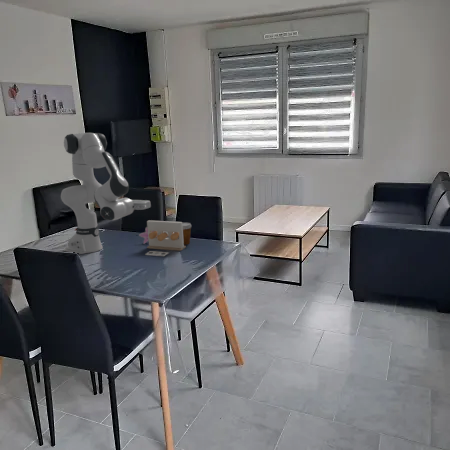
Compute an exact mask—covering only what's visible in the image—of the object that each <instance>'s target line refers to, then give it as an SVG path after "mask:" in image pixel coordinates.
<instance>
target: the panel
mask: <svg viewBox="0 0 450 450" xmlns="http://www.w3.org/2000/svg"><path fill="white" fill-rule="evenodd" d="M182 223H183V222H182V221H170V220H169V221H167V220H165V221H164V220H150V219H149V220H147V221H146V227H147V228H148V239H149V241H148V246H147V247H146V248H147V249H152V250H153V249H155V250H165V251H178V252H179V251H181V252H182V251H183V250H184V249H185V248H187V247H186V245H184V240H183V224H182ZM152 231H157V236H158V235H160V234H162V233H163V232H166V233H167V234H168V237H167V238H165V239H164V240H162V241H159V240H158V239H157V237H155V238H153V239H150V238H149V234H150V233H152ZM175 232H179V238H177V239H176V240H171V238H170V236H171V235H172V234H174V233H175Z"/></svg>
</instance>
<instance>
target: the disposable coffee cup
mask: <svg viewBox="0 0 450 450" xmlns="http://www.w3.org/2000/svg"><path fill="white" fill-rule="evenodd" d="M182 224H183V240H184V246H186V245H189V244H190V243H191V229H192V224H191V222H182Z"/></svg>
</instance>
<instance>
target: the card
mask: <svg viewBox="0 0 450 450" xmlns="http://www.w3.org/2000/svg"><path fill="white" fill-rule="evenodd" d="M169 254H170V252H168V251H157V250H156V251H154V250H149V251H147V252H146V253H145V254H144V255H145V256H154V257H155V256H156V257H165V256H166V255H169Z"/></svg>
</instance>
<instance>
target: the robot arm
mask: <svg viewBox="0 0 450 450" xmlns="http://www.w3.org/2000/svg"><path fill="white" fill-rule="evenodd" d="M107 146H108V142H107V138H106V136H105V135H104V134H103V133H100V132H95V133H94V132H81V133H74V134H73V133H70V134H66V136H64V139H63V147H64V149H65V152H67V153H68V154H69V155H71V163H72V164H71V165H72V175H73V177H74V178H75V179H77V180H80V181H81V182H82V184H79V185H72V186H71V185H70V186H68V187H66V188H63V189H62V190H61V193H60V200H61V202H63V204H64V205H65V206H67V207H69V208H70V209H71V210H72V211H73V212H74V215H75V218H76V224H77V227H76V228H75V229H74V230H73V231H76V232H75V234H74V235H73V236H72V237H70V238H69V239H68V242H67V247H65V248H64V252H67V253H72V252H75V253H74V254H77V253H79V255H84V254H89V253H95V252H100V251H101V250H103V245H102V242H101V239H100V229H99V225H98V219H97V213H96V212H95V211H94V210H92V209H90V208H87V206H86V205H87V204H90V203H91V204H92V203H95V204H96V205H97V207H99V208H100V211H99V212H100V216H101V217H102V218H103V219H104V220H106V221H109V222H110V221H112V222H113V221H117V220H119V219H121V218H124V217H126V216H130V215H131V214H133V213H134V211H135V210H137V211H139V210H140V211H141V210H146V209H149V208H151V207H152V204H151V201H150V200H147V199H145V200H143V199H130V198H128V197H123V196H124V195H126V194H128V192H129V187H130V185H129V182H128V180H127V179H126V178H125V177H124V175H123V173H122V171H121V169H120V167H119V166H118V164H117V162H116V160H115V158H114V156H113V155H112V154H110V152H108V151H106V149H107ZM102 168H106V170H107V172H108V174H109V179H108V180H107V181H106V182H105V183H103V184H102V183H100V182H98V180H97V179H96V177H95V175H94V169H102ZM121 197H123V198H121Z"/></svg>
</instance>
